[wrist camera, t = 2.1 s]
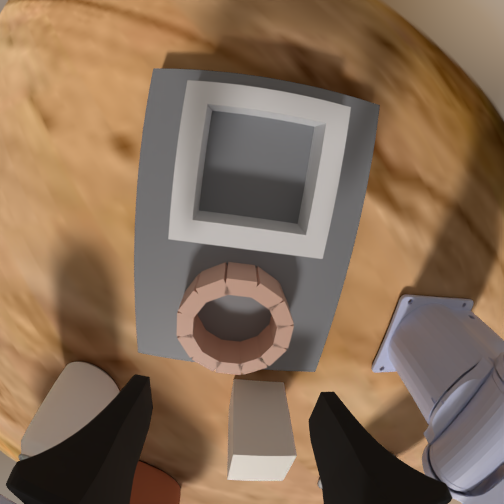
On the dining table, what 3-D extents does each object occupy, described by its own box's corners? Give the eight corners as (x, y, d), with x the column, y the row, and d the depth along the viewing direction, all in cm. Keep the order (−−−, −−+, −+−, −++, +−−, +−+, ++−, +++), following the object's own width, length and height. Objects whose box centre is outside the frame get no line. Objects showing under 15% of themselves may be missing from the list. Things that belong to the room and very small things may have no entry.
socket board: (370, 107, 17) (398, 100, 13) (311, 360, 23) (321, 393, 20) (159, 74, 16) (140, 57, 12) (143, 341, 22) (129, 373, 18)
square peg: (283, 382, 24) (296, 455, 17) (274, 412, 25) (282, 480, 18) (233, 378, 24) (233, 454, 16) (228, 409, 25) (227, 479, 18)
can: (113, 413, 25) (81, 502, 14) (61, 383, 24) (16, 465, 13) (129, 382, 24) (91, 488, 12) (71, 347, 22) (11, 440, 11)
